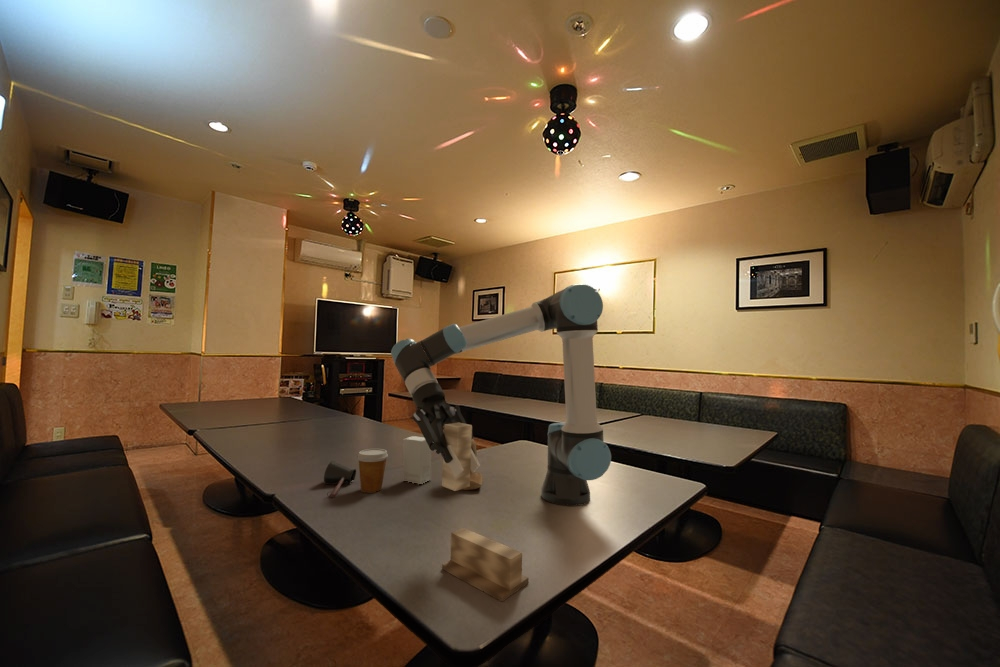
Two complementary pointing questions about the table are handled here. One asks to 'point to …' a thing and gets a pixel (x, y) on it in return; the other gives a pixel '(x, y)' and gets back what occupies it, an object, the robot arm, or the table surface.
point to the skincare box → (416, 460)
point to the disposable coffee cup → (372, 469)
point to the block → (458, 455)
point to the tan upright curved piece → (474, 477)
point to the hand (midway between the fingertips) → (467, 471)
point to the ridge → (485, 564)
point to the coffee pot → (338, 476)
